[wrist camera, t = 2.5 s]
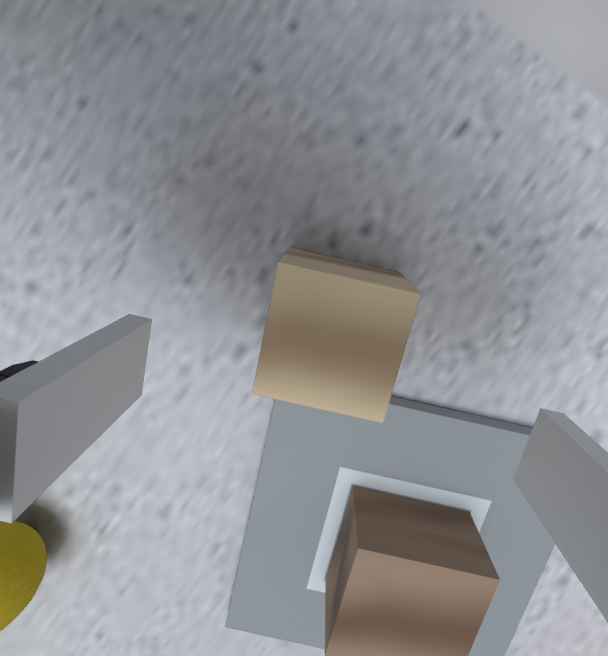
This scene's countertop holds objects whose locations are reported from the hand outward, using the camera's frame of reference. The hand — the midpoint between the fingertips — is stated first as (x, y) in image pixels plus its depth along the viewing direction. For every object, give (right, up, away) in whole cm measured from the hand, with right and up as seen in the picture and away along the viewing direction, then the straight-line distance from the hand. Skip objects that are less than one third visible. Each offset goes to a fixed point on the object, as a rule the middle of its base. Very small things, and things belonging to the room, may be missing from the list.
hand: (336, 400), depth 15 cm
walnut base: (+4, -11, +13) cm, 17 cm away
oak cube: (+1, +3, +10) cm, 11 cm away
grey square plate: (+5, -11, +14) cm, 18 cm away
